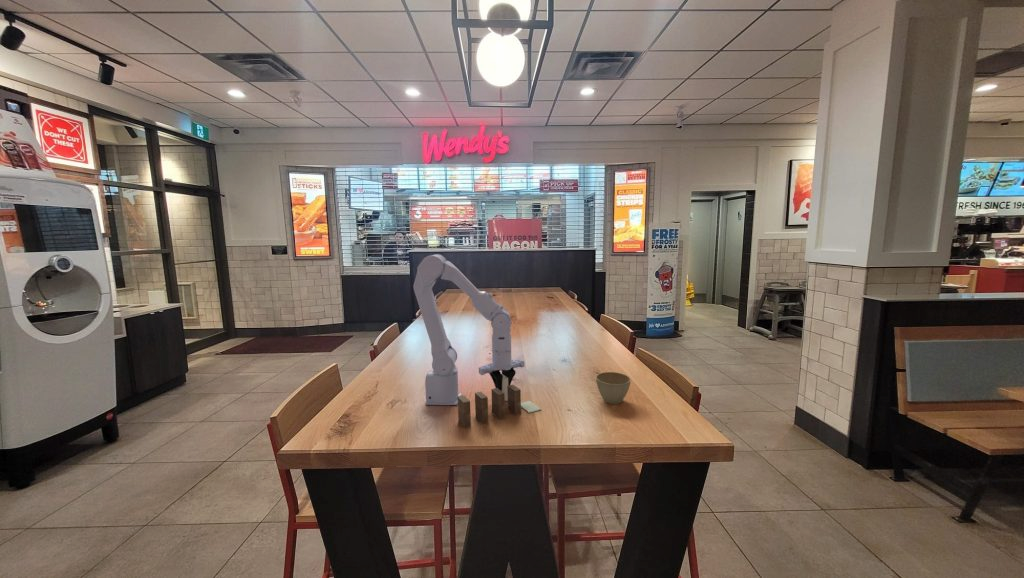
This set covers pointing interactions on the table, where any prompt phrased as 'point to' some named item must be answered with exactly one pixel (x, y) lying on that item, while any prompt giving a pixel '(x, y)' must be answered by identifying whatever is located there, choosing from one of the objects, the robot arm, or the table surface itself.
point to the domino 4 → (505, 387)
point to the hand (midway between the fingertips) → (502, 393)
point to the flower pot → (613, 386)
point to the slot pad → (530, 407)
